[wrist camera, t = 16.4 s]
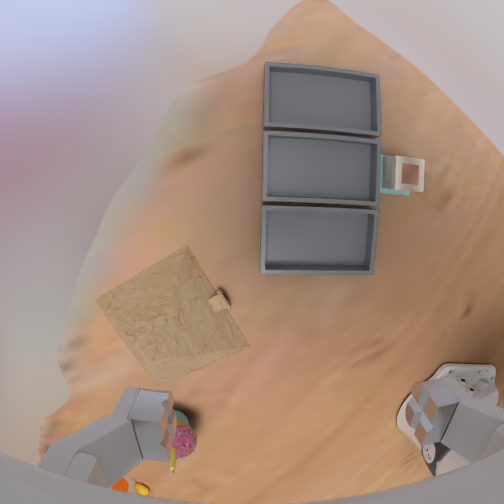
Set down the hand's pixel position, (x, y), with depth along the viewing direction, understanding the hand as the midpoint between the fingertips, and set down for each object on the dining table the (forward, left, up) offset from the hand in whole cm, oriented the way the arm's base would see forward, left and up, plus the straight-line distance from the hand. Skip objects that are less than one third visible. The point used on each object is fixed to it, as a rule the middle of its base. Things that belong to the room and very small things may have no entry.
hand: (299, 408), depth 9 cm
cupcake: (+13, +30, -31) cm, 45 cm away
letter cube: (-17, -9, -31) cm, 36 cm away
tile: (+12, +12, -32) cm, 36 cm away
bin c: (-7, -17, -31) cm, 36 cm away
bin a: (-7, 0, -31) cm, 32 cm away
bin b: (-7, -8, -31) cm, 33 cm away
